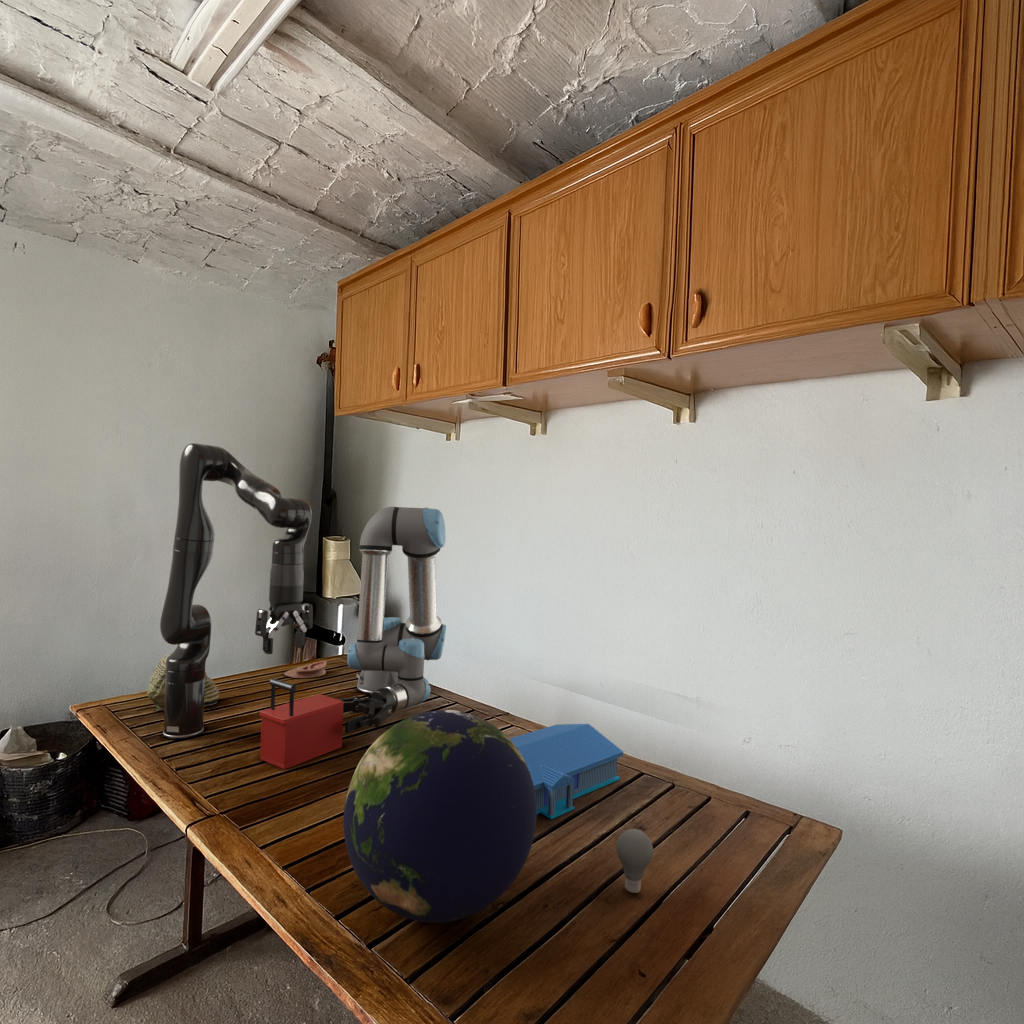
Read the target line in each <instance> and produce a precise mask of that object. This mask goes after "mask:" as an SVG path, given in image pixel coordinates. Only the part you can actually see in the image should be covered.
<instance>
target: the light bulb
mask: <svg viewBox="0 0 1024 1024" xmlns="http://www.w3.org/2000/svg"><path fill="white" fill-rule="evenodd" d="M615 849H616V854H617V857H618V859H619V861H620V863H621V865H622V867H623V873H624V874H623V875H624V876H625V878H624V888H625V890H627V891H628V892H630V893H634V894H635V893H639V892H640V891H641V889H642V887H641V886H642V879H643V877H644V875H645V871H646V868H647V867H648V866H649V864H650V863H651V861H652V859H653V855H654V847H653V843H652V841H651V838H649V836H648V835H647V834H646V833H645V832H643V831H642V830H641V829H636V828H629V829H627V830H625V831H623V832H622V833H621V834H620V835H619V837H618V839H617V841H616V847H615Z"/></svg>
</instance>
